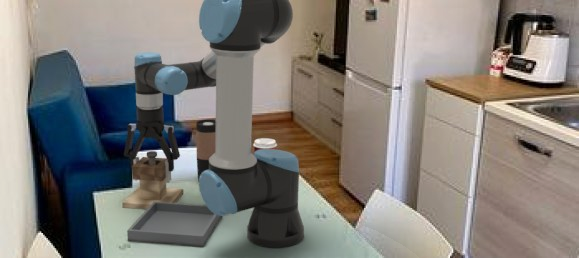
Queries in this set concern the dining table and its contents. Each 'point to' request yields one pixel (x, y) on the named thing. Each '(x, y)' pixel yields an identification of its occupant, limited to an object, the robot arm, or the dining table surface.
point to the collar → (149, 170)
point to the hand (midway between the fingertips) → (152, 180)
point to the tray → (174, 224)
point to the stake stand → (151, 191)
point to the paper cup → (264, 144)
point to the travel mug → (205, 143)
